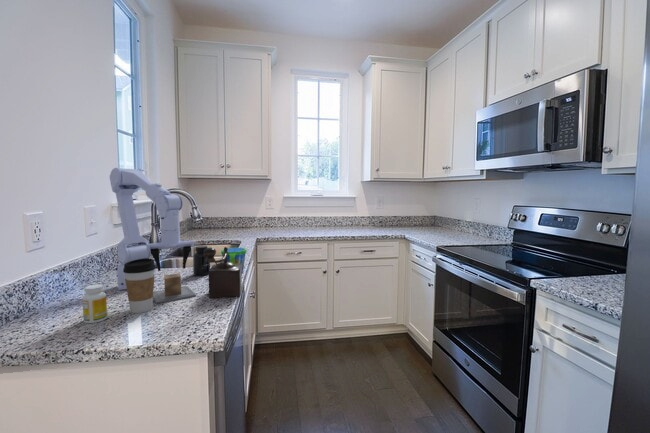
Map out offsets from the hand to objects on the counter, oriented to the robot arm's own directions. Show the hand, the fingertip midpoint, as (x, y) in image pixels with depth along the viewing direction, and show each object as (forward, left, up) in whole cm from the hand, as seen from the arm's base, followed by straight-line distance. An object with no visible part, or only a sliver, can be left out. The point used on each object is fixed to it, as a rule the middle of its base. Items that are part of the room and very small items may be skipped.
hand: (171, 269), depth 109 cm
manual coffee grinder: (+16, -8, -9) cm, 20 cm away
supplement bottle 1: (-20, -13, -9) cm, 26 cm away
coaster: (0, 0, -9) cm, 9 cm away
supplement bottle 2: (+12, +24, -9) cm, 28 cm away
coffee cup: (-9, -10, -9) cm, 16 cm away
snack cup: (+25, +20, -9) cm, 34 cm away
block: (0, 0, -8) cm, 8 cm away
